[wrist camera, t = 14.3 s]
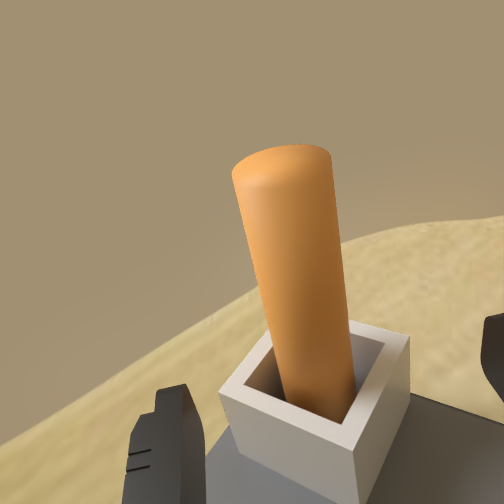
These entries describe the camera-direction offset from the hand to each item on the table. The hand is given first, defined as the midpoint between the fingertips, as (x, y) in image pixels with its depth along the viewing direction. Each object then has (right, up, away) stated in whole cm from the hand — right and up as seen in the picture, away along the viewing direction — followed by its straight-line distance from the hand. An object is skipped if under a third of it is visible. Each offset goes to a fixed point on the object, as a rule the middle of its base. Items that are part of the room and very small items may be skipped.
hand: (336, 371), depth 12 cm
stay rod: (+1, -5, +10) cm, 12 cm away
